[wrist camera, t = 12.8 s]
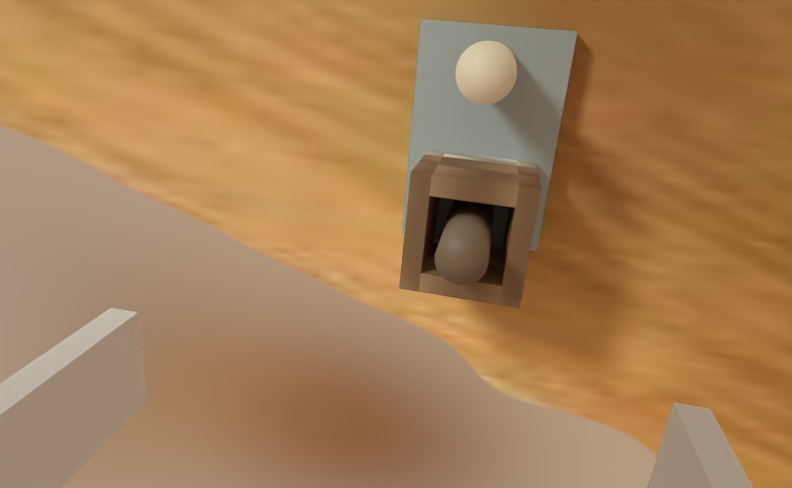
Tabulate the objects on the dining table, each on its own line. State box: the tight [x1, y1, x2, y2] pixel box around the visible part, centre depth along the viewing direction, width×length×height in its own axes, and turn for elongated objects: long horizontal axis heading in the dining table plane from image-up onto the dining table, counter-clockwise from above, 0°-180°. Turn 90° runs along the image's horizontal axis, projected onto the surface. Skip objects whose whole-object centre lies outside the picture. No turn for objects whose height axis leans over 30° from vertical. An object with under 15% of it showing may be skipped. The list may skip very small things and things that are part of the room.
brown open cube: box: [399, 150, 542, 308], centre depth 29 cm, size 6×6×6 cm
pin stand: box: [402, 19, 578, 285], centre depth 27 cm, size 8×12×9 cm, turn 175°
